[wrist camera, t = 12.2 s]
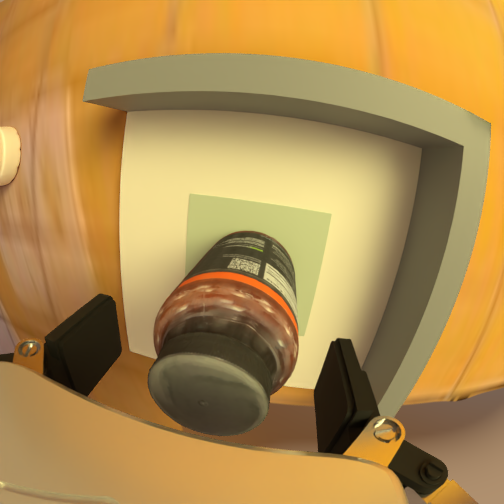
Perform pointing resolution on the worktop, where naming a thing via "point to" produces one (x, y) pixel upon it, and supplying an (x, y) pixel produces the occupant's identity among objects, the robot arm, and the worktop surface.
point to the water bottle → (9, 154)
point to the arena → (301, 197)
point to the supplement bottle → (227, 336)
